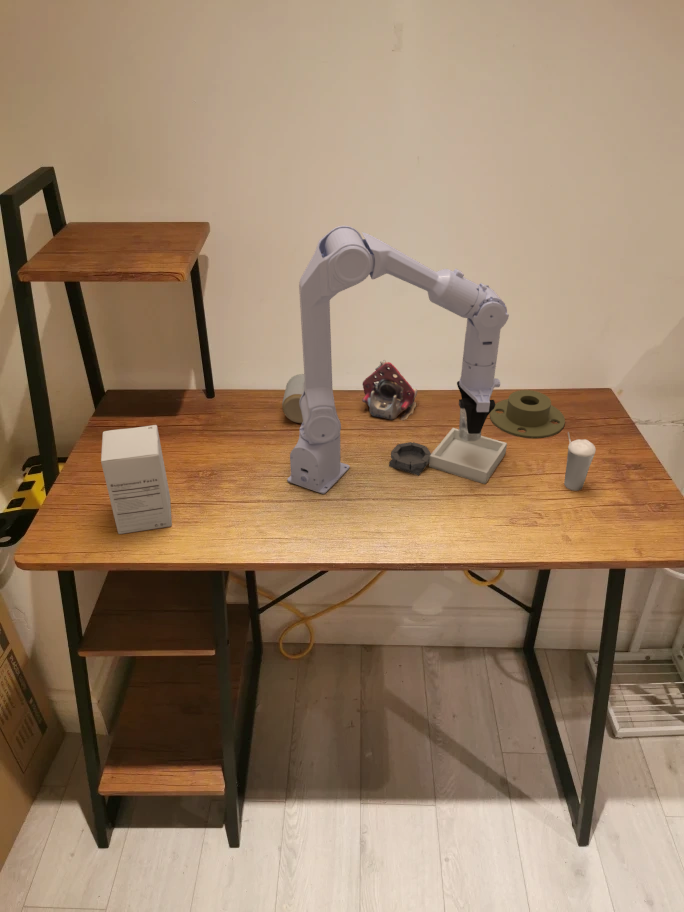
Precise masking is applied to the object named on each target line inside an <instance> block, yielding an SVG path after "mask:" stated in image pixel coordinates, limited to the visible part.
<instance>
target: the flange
mask: <svg viewBox="0 0 684 912" xmlns="http://www.w3.org/2000/svg"><path fill="white" fill-rule="evenodd" d="M498 411H499V412H498ZM500 412H502V413H500ZM489 418H490V421H491V422H492V424H493V425H494V426H495V427H496V428H497V429H499V430H500V431H502V432H504V433H505V434H509V435H511V436H514V437H519V438H523V439H544V438H549V437H550V438H551V437H552V436H555V435H557V434H559V433H560V432H562V430H563V429H564V427H565V423H566V419H565V416H564V414H563V413H562V411H560V409H558V408H557V407H555V406H554V405H553V404H552V401H551V399H550V397H549V396H548V395H546V394H544V393H542V392H539V391H537V390H531V389H521V390H520V389H519V390H516V391H513V392H512V393H510V394H509V396H508V398H507V399H503V400H500V401H498V402H495V407H494V409H493V410H492V411H491V412H490V413H489ZM553 422H555V423H553ZM520 430H522V431H525V432H521V431H520Z"/></svg>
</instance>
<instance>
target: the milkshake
mask: <svg viewBox="0 0 684 912" xmlns="http://www.w3.org/2000/svg"><path fill="white" fill-rule="evenodd" d="M570 435H571V434H570V431H567V437H568V441H569V444H568V447H567V456H566V465H565V466H566V467H565V474H564V480H563V481H564V483H563V485H564V486H565V488H566V489H568V490H570V491H576V492H578V491H581V490H582V489H583V487H584V485H585V482H586V478H587V475H588V472H589V469H590V467H591V465H592V462H593V460H594V459H593V458H594V456H595V454H596V450H597V449H596V446H595V444H594V443H593V442H591V441H589V440H588V439H579V438H577V439H575V440H572V439H571V436H570Z"/></svg>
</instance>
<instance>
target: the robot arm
mask: <svg viewBox="0 0 684 912" xmlns="http://www.w3.org/2000/svg"><path fill="white" fill-rule="evenodd" d="M361 234H362V235H363V237H364V239H363V237H362V235H361ZM386 274H388V275H390V276H393V277H395V278H397V279H399V280H402V281H403V282H405V283H408V284H409V285H413V286H414V287H418V288H419V289H422V290H423V291H426V292H427V295H428V299H429V302H431V303H433V304H435V305H437V306H439V307H440V308H443V309H445V310H447V311H449V312H451V313H453V314H455V315H457V316H459V317H461V318H463V319H464V318H465V319H467V320H466V327H465V328H466V329H465V335H464V342H463V352H462V353H463V354H462V363H461V373H460V377H459V380H458V381H457V382H456V386H457V389H458V390H459V392H460V397H461V399H462V403H463V406H464V408H465V411H466V417H467V429H468V433H469V434H479V433H480V432H481V433H482V430H483V427H484V424H485V423H486V420H487V418H488V416H490V412H491V411H492V410H493V409H494V407H495V404H496V401H495V399H491V397H492V394H493V392H494V389H495V388H500V387H501V380H500V379H499V378H495V376H496V375H495V374H496V367H497V362H498V361H497V359H498V352H499V345H500V337H501V330H502V328H503V327H504V326H505V325H506V324H507V322H508V320H509V316H510V315H509V313H508V308H507V305H506V303H505V302H504V301H503V300H502V298H501V297H500V296H499V295H498V294H497V292H496V291H495V290H494V289H492V288H491V286H489V285H488V284H485V283H482V282H480V283H479V284H478V283H476V282H474V281H472V280H470V279H469V278H466V277H464V275H465V274H464V273H463V272H462V270H460V269H458V268H454V270H451V269H449V268H442V269H440V270H434V269H431V268H430V267H428V266H426V265H425V264H423V263H421V262H420V261H418V260H416V259H414V258H413V257H411V256H409V255H407V254H406V253H404V252H402V251H401V250H398V249H397V248H395V247H393V246H391V245H390V244H388V243H387V242H384V241H382V240H381V239H379V238H377V237H375V236H374V235H371V234H370V233H366V232H363V231H362V232H361V233H360V232H359V231H358V230H357V229H356V228H355V227H352V226H349V225H339V226H336V227H334V228H332V229H331V230H330V231H329V232H327V233H326V234H325V235H324V236H322V237H321V238H320V239H319V240H318V242H317V245H316V248H315V251H314V253H313V255H312V256H311V259H310V261H308V264H307V266H306V267H305V269H304V271H303V274H302V275H301V277H300V278H299V282H298V283H299V284H298V293H299V308H300V321H301V322H300V325H301V343H302V353H303V354H302V360H303V362H302V363H303V374H304V379H305V381H304V391H303V394H302V396H301V398H300V401H299V406H300V409H301V412H302V417H303V422H302V423H300V424H301V425H300V426H299V435H298V440H297V442H296V445H295V446H294V447H293V448H292V449H291V451H290V454H289V461H290V463H289V464H290V466H289V467H290V476H289V477H287V478H286V481H287V482H288V483H291V484H293V485H297V486H299V487H302V488H304V489H308V490H311V491H314V492H316V493H319V494H322V495H325V494H326V493H327V492H328V491H329V490H331V488H332V487H333V486H334V485H335V484H336V483H337V482H338V481H339V480H340V479H341V478H342V477H343V475H344V474H345V473H346V472H347V471H349V469H350V465H349V464H346V463H344V462H341V430H342V422H341V421H340V419H339V416H338V412H337V409H336V403H335V397H334V391H333V370H332V369H333V367H332V365H333V364H332V338H331V333H332V332H331V305H330V304H331V303H330V302H331V299H333V298H334V297H335V296H336V295H337V294H339V293H341V292H343V291H345V290H347V289H350V288H352V287H354V286H356V285H359V284H360V283H362V282H364V281H365V280H366V279H367V278H368V277H369V276H370V279H371V280H377V279H378V278H380V277H382V276H384V275H386Z"/></svg>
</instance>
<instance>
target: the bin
mask: <svg viewBox="0 0 684 912" xmlns="http://www.w3.org/2000/svg"><path fill="white" fill-rule="evenodd" d="M507 446H508V442H504V441H501V440H497V439H494V438H490V437H487V436H483V435H481V438H480V439H479V440H476V441H465V440H462V439H461V438H460V437H459V428H455V427H451V429H450V430H449V432H447V434H446V435H445V437H444V438H443V439H442V440H441V442H439V443H438V445H437V447H435V449H433V451H432V452H431V455H430V460H429V464H428V467H429V468H432V469H436V470H438V471H441V472H444V473H448V474H452V475H454V476H458V477H461V478H464V479H467V480H470V481H473V482H478V483H479V484H483V485H486V484H487V482H488V481H489V479H490V478H491V477H492V475H493V474H494V472H495V470H496V469H497V467H498V466H499V465H500V463H501V461H502V460H503V458H504V457H505V456H506V452H507Z"/></svg>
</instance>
